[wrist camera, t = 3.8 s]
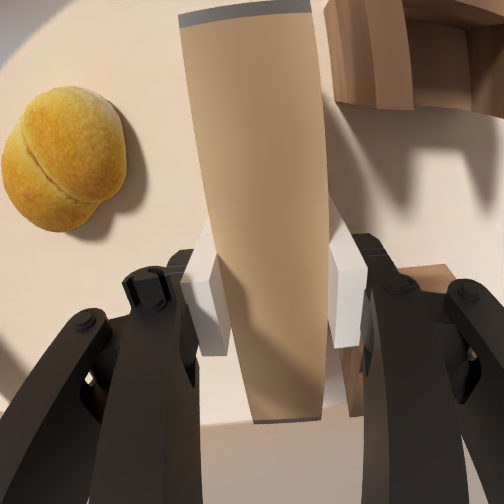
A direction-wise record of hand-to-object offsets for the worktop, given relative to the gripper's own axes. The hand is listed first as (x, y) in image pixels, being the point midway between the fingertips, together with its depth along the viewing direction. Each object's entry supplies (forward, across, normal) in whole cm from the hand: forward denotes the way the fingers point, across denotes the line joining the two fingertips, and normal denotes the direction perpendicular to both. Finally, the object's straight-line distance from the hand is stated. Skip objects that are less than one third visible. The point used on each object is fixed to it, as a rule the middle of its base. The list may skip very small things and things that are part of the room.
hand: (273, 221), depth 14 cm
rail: (0, 0, 0) cm, 0 cm away
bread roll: (+4, -12, +4) cm, 13 cm away
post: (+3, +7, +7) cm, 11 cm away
